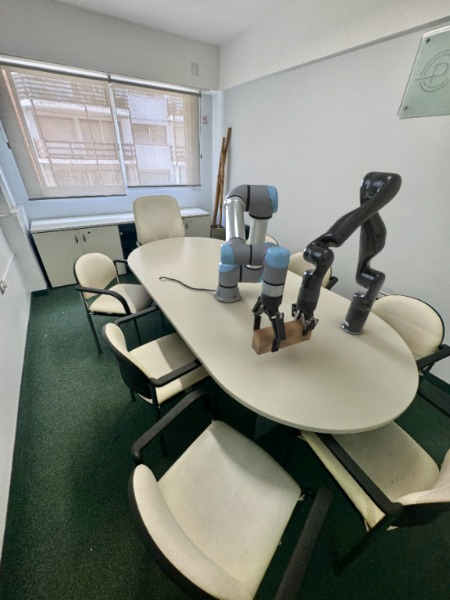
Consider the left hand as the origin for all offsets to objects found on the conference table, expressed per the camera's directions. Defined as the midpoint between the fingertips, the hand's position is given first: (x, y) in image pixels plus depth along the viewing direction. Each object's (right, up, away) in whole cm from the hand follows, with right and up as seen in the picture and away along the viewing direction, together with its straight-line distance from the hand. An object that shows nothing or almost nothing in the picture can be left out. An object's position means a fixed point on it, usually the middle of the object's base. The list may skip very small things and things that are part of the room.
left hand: (264, 340), depth 94 cm
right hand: (+16, +3, +7) cm, 17 cm away
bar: (+8, -2, +6) cm, 10 cm away
